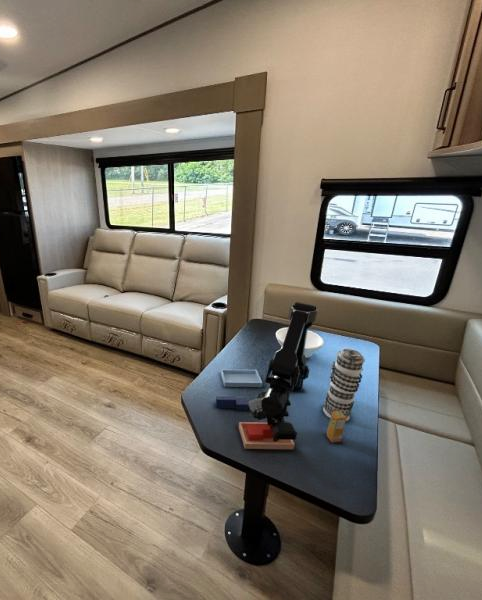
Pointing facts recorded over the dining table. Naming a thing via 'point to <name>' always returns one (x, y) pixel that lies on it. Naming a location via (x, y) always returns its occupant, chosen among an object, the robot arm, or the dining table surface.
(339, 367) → the leaning tower model
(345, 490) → the dining table surface
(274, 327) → the dining table surface
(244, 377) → the tray blue
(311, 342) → the bowl
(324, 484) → the dining table surface
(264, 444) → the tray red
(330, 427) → the supplement box
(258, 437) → the red stepped block
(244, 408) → the dark blue block
